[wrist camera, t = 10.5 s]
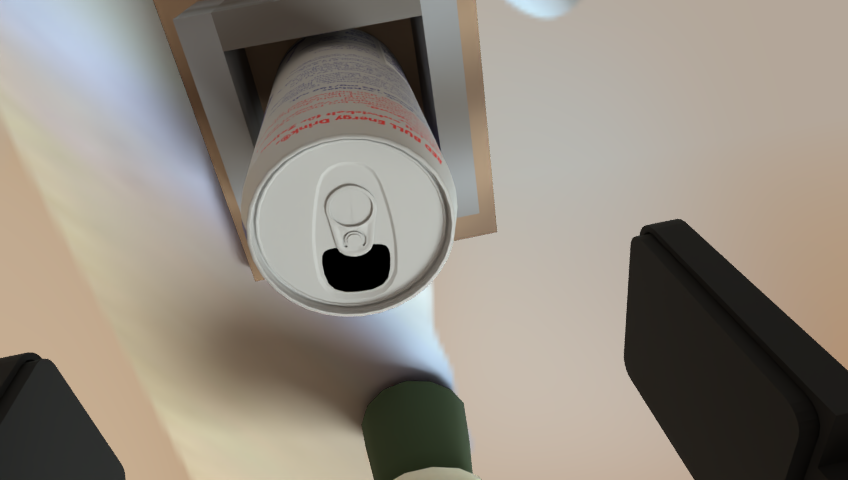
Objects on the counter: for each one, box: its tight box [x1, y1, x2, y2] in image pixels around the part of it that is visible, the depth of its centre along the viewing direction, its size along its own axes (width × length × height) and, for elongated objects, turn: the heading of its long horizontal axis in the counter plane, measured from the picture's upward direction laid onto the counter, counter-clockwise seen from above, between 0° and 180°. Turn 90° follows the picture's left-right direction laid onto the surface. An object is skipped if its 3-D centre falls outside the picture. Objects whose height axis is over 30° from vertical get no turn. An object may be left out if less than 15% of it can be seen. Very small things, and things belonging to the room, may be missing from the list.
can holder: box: [153, 0, 497, 281], centre depth 23 cm, size 16×12×5 cm
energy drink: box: [240, 28, 458, 317], centre depth 19 cm, size 5×5×12 cm
